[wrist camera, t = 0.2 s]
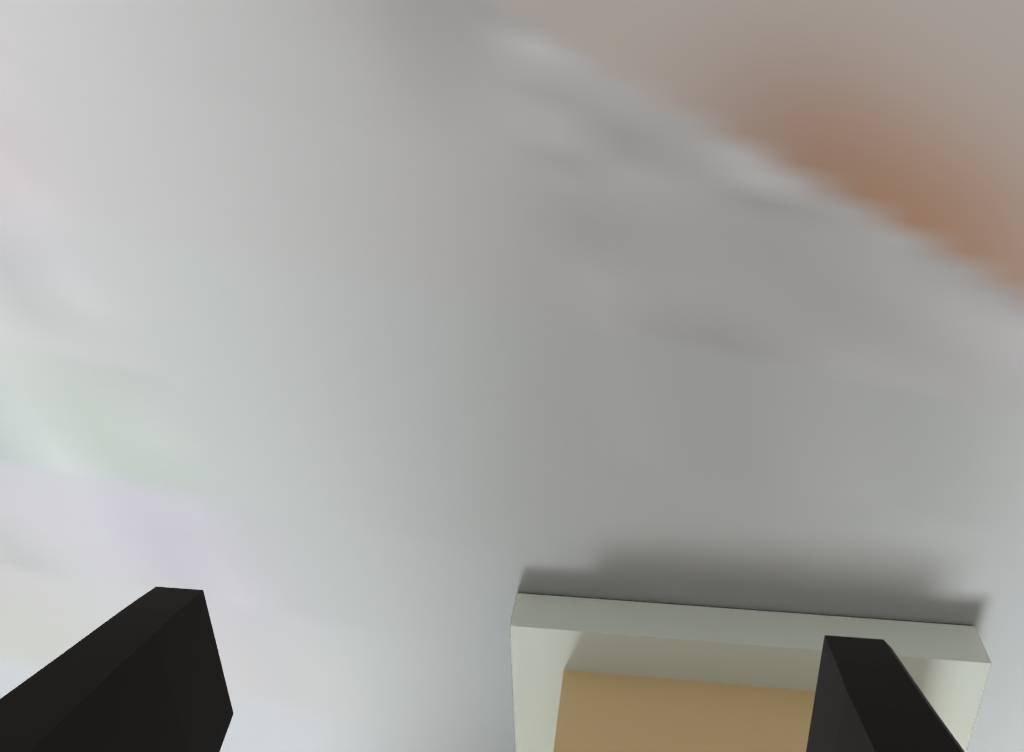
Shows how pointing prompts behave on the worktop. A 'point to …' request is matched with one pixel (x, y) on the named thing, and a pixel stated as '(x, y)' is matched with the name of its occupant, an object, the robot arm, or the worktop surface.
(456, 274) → the worktop surface
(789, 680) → the frame
